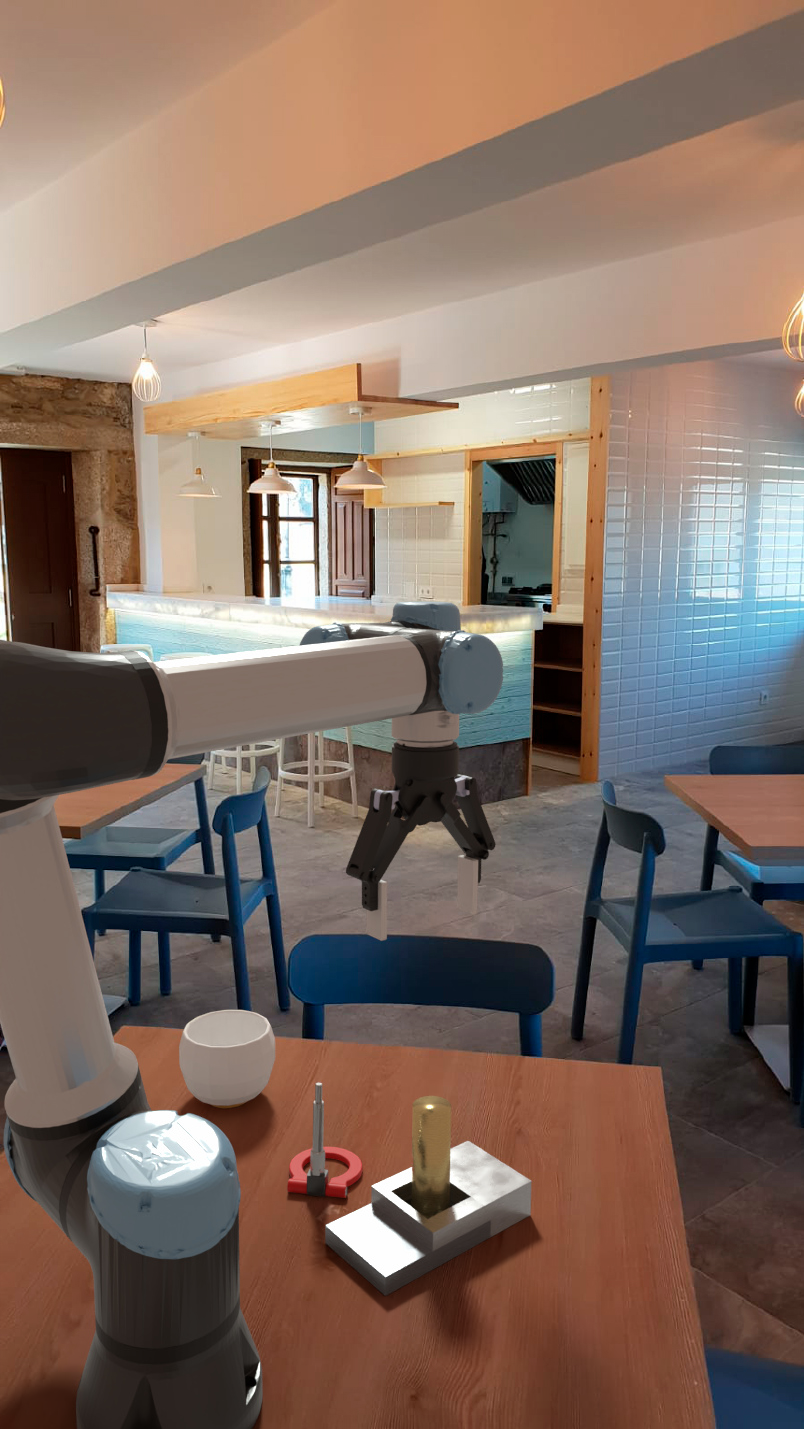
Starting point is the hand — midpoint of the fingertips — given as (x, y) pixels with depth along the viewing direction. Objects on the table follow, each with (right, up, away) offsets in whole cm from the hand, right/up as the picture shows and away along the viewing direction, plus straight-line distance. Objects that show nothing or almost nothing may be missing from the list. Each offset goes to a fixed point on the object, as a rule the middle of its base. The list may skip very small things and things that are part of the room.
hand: (423, 923), depth 119 cm
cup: (-25, -26, +17) cm, 40 cm away
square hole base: (+1, -30, -9) cm, 32 cm away
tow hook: (-11, -29, +1) cm, 31 cm away
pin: (+1, -30, -9) cm, 32 cm away
